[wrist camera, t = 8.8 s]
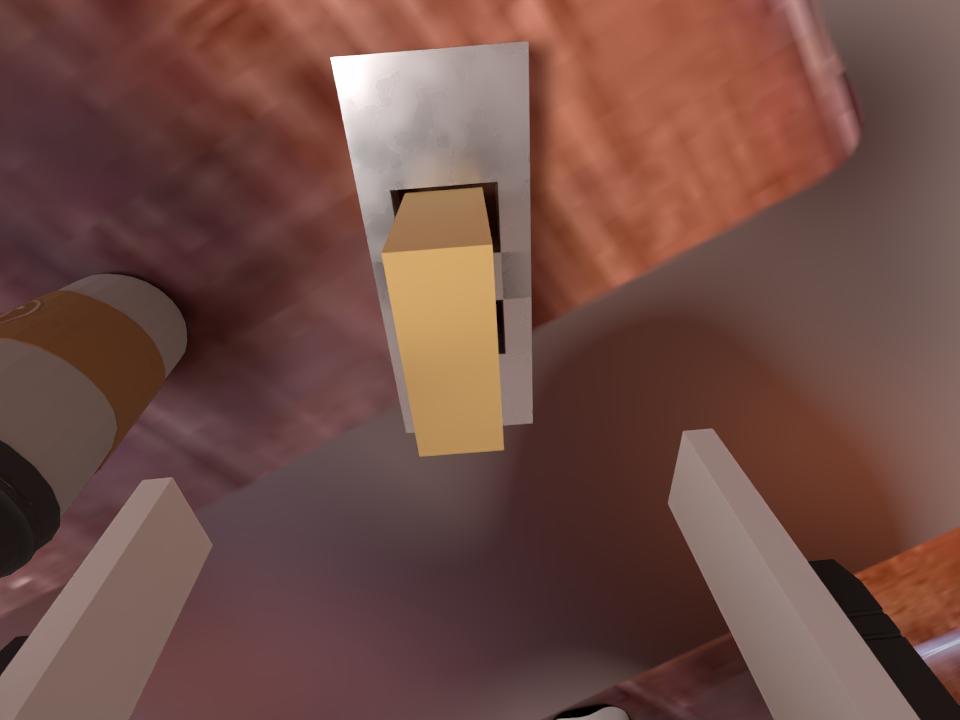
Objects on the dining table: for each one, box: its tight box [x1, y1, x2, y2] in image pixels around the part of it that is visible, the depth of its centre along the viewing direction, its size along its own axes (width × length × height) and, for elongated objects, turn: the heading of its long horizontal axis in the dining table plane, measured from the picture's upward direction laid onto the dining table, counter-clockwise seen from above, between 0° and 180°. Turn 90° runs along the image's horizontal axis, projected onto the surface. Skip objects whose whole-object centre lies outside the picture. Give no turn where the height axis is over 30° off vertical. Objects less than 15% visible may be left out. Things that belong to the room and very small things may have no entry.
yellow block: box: [381, 187, 504, 457], centre depth 22 cm, size 9×4×10 cm, turn 4°
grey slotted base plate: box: [330, 41, 533, 433], centre depth 26 cm, size 20×8×2 cm, turn 4°
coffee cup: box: [0, 274, 187, 578], centre depth 21 cm, size 8×8×15 cm
